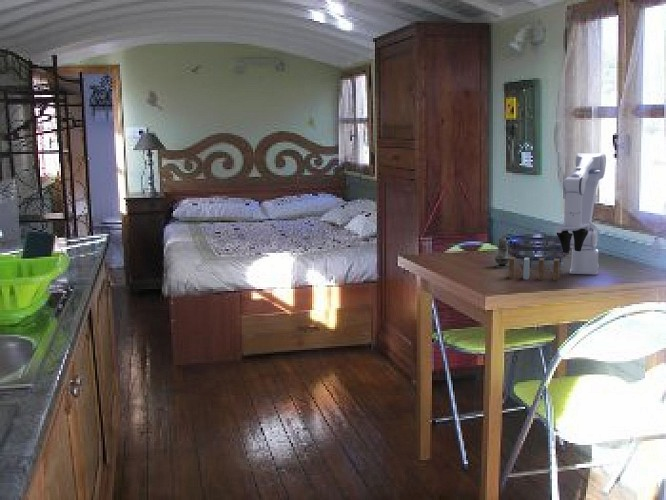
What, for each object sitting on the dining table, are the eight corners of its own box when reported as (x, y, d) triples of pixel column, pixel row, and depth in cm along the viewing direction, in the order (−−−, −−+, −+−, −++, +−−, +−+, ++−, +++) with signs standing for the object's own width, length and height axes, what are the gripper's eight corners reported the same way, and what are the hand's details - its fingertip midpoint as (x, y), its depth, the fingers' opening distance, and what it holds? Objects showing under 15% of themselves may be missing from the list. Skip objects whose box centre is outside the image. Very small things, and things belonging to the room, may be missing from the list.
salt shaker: (510, 268, 290) (511, 236, 288) (494, 268, 291) (495, 236, 289) (509, 265, 296) (510, 234, 294) (493, 265, 297) (494, 234, 295)
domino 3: (544, 277, 271) (544, 258, 270) (543, 280, 267) (543, 260, 266) (539, 277, 272) (539, 258, 271) (538, 279, 268) (538, 260, 267)
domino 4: (558, 278, 270) (559, 258, 269) (558, 280, 266) (558, 260, 265) (554, 278, 270) (554, 258, 269) (553, 280, 266) (553, 260, 265)
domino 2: (529, 277, 273) (529, 257, 272) (528, 279, 269) (528, 259, 268) (524, 276, 274) (525, 257, 272) (523, 279, 270) (523, 259, 268)
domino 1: (515, 276, 275) (515, 257, 274) (513, 278, 271) (514, 259, 270) (510, 276, 275) (510, 256, 274) (509, 278, 271) (509, 258, 270)
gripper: (579, 210, 270) (578, 248, 272) (548, 212, 263) (547, 252, 265) (595, 211, 263) (593, 250, 266) (564, 214, 256) (563, 255, 259)
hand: (571, 251), depth 265 cm, fingers open, 5 cm apart
